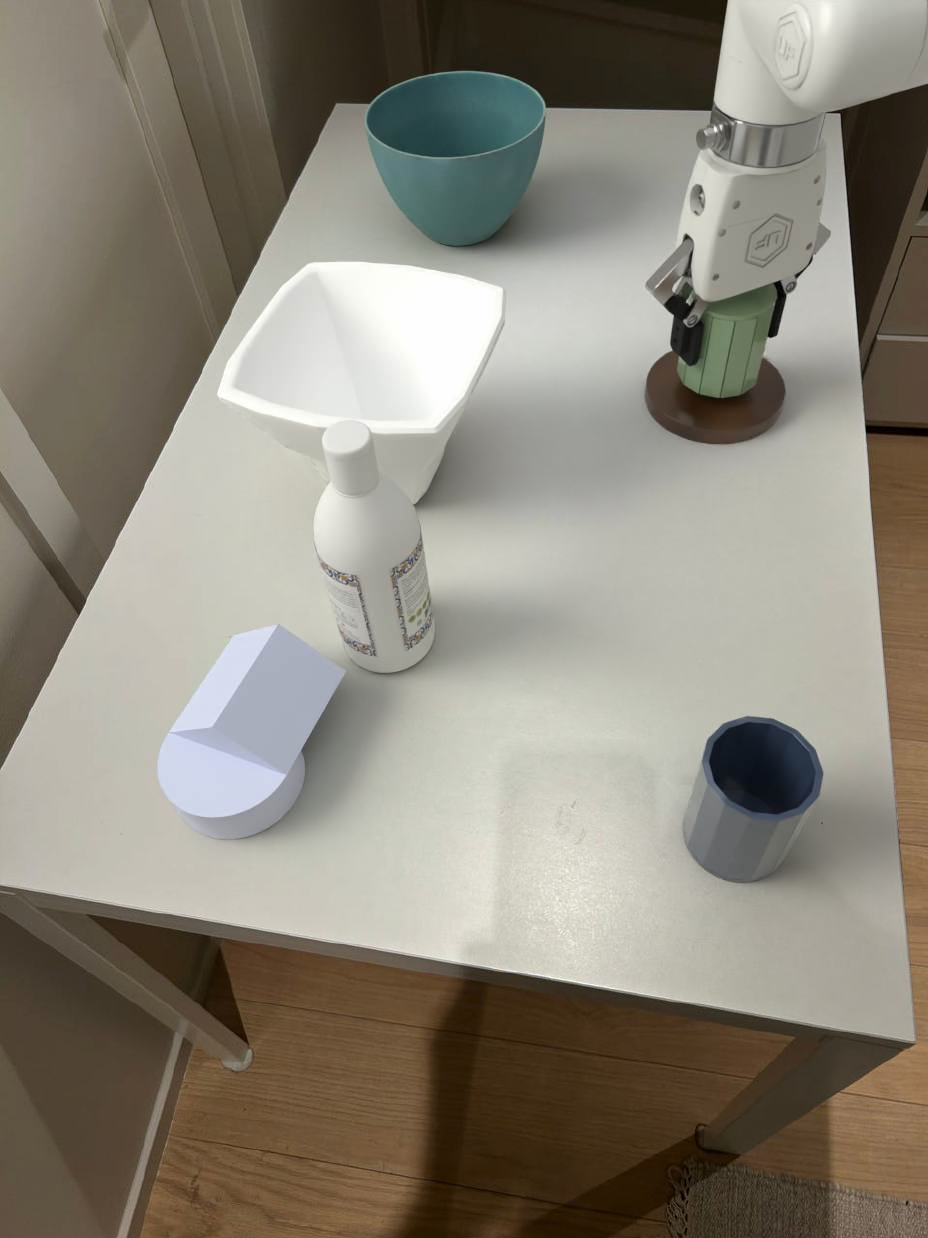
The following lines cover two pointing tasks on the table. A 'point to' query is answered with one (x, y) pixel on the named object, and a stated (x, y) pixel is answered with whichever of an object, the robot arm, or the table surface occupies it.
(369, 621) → the bath foam
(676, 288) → the robot arm
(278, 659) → the wedge on round base
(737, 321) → the green cup
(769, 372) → the disc
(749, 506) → the table surface
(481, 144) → the plant pot
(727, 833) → the blue cup
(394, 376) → the bowl
